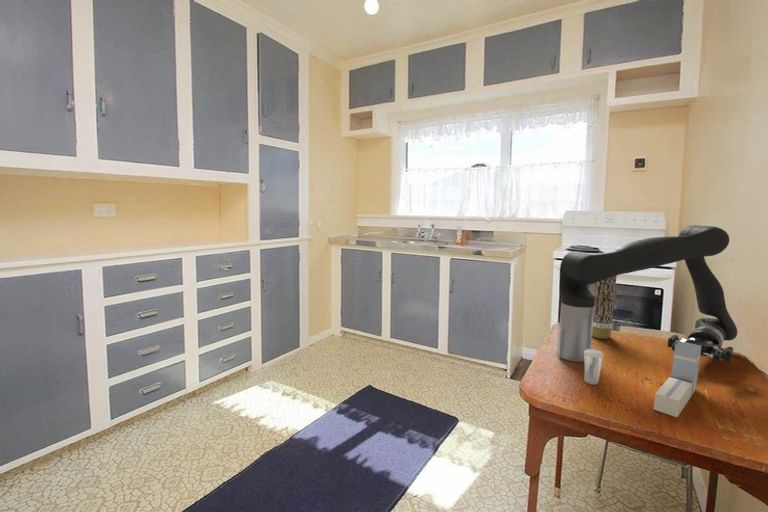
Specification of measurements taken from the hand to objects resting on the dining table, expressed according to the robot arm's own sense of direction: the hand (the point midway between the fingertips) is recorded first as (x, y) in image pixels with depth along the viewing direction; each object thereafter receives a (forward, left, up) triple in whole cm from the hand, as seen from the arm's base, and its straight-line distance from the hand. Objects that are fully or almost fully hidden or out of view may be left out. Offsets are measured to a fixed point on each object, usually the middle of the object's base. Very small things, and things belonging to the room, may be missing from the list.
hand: (694, 353), depth 105 cm
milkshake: (-27, -12, -7) cm, 31 cm away
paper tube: (-17, +29, -7) cm, 34 cm away
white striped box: (-10, -18, -7) cm, 22 cm away
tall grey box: (-5, -9, -7) cm, 13 cm away
